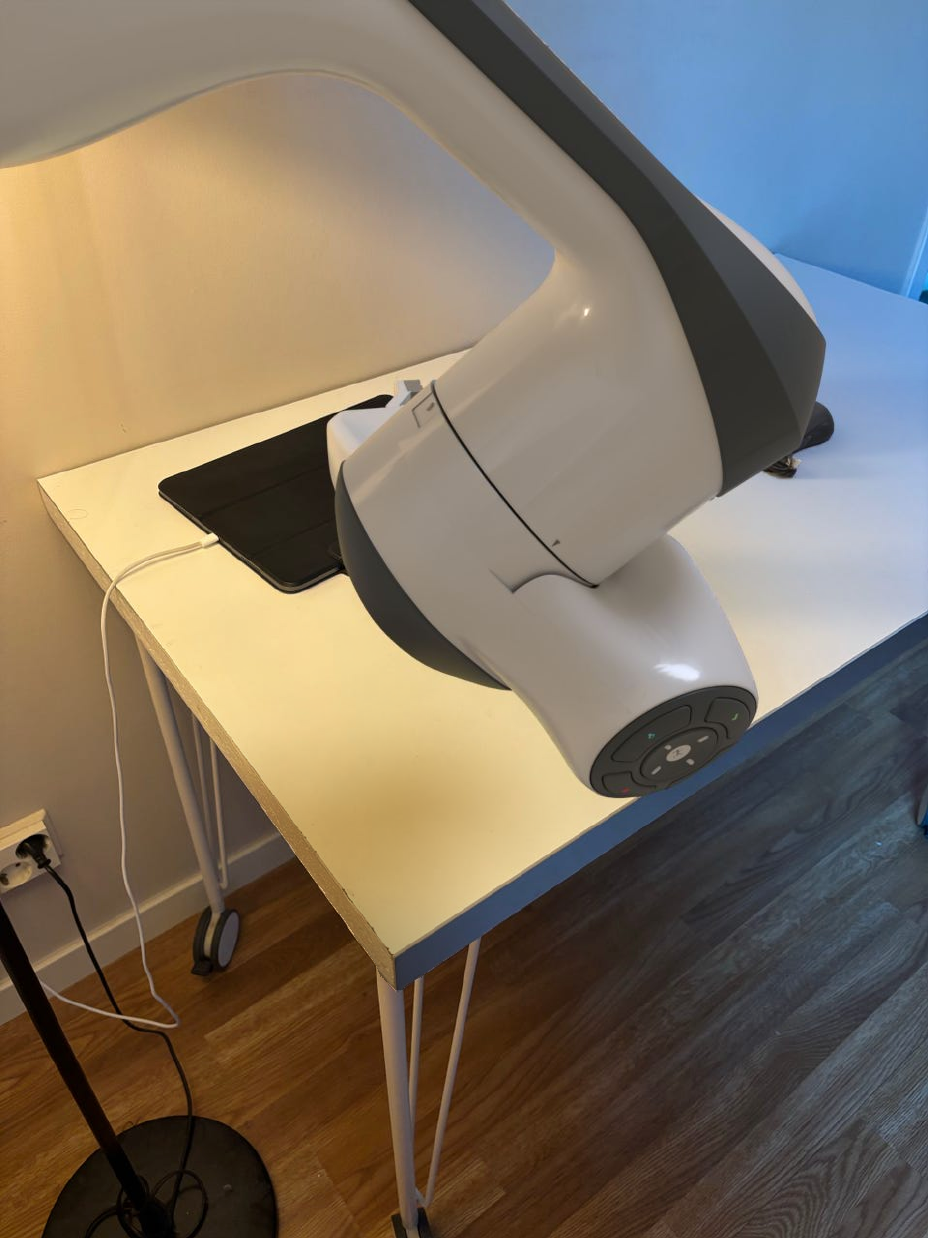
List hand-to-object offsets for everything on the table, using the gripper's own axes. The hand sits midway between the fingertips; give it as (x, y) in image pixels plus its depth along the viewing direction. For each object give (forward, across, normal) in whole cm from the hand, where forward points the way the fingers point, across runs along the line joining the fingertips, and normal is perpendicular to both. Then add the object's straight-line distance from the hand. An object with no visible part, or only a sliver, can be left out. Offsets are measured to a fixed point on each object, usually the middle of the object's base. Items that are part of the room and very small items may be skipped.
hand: (483, 384), depth 57 cm
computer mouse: (+32, -44, +27) cm, 61 cm away
